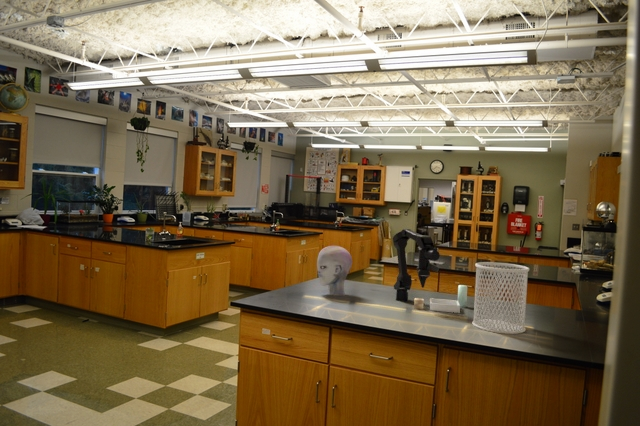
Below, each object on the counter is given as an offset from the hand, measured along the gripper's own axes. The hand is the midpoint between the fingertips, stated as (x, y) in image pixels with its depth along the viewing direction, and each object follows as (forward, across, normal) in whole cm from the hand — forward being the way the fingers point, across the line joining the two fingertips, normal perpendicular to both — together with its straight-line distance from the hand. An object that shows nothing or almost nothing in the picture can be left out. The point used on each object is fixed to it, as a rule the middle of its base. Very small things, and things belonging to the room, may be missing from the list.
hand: (422, 286), depth 262 cm
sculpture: (+12, +17, +53) cm, 57 cm away
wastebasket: (+12, -28, -36) cm, 47 cm away
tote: (+12, +1, -13) cm, 18 cm away
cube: (+12, -1, +2) cm, 12 cm away
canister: (+12, +12, -23) cm, 29 cm away
